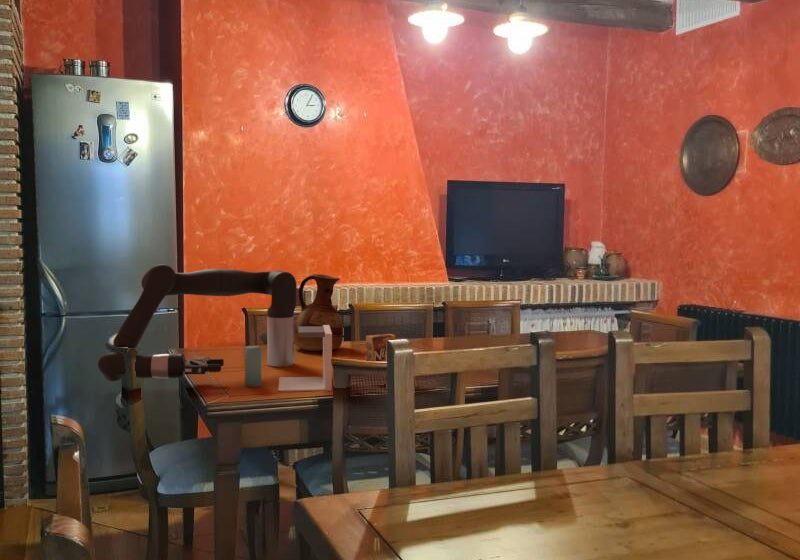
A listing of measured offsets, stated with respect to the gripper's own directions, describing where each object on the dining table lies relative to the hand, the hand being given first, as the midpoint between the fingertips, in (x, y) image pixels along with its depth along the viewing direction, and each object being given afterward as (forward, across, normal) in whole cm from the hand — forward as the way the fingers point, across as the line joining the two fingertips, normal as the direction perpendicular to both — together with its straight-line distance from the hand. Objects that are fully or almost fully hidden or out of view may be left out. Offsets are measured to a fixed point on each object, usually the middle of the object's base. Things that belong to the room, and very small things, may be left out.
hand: (222, 365), depth 237 cm
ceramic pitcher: (+31, +61, +7) cm, 69 cm away
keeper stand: (+25, 0, +6) cm, 26 cm away
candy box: (+49, +2, +7) cm, 50 cm away
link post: (+9, 0, +6) cm, 11 cm away
